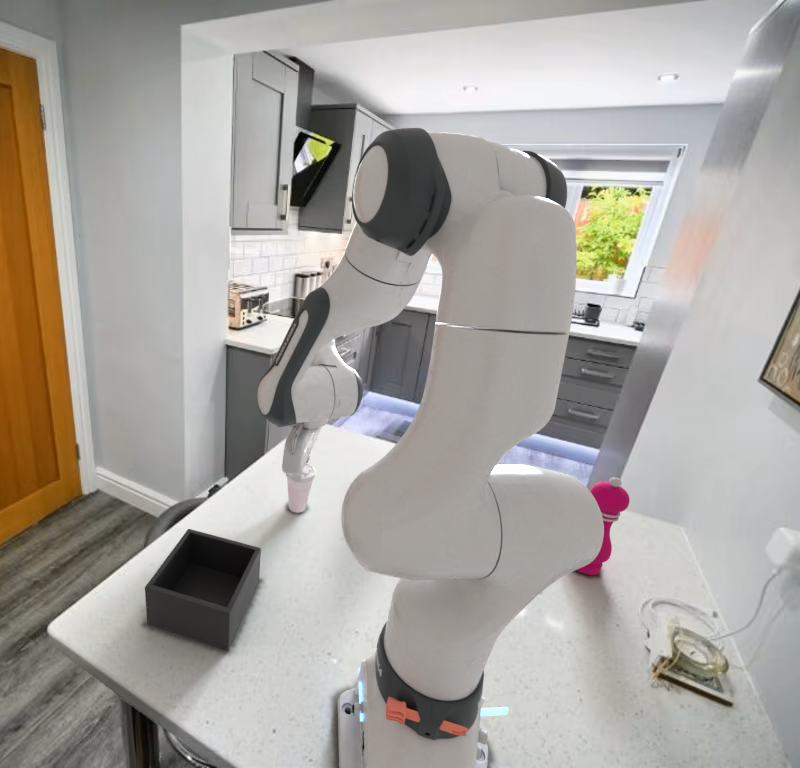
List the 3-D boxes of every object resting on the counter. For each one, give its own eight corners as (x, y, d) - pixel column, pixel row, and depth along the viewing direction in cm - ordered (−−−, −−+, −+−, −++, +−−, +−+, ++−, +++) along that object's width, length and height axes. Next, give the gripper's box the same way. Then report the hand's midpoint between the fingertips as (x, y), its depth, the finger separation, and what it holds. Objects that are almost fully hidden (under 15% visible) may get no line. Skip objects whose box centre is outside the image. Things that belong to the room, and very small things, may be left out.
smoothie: (293, 494, 100) (298, 441, 95) (317, 506, 97) (323, 451, 92) (276, 508, 96) (281, 452, 90) (300, 521, 92) (306, 464, 87)
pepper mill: (605, 564, 87) (643, 479, 79) (598, 583, 82) (638, 495, 74) (565, 544, 91) (597, 462, 83) (556, 562, 86) (590, 477, 78)
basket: (228, 650, 64) (229, 613, 62) (147, 623, 67) (144, 587, 65) (259, 581, 77) (261, 547, 74) (188, 561, 80) (188, 528, 77)
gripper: (310, 438, 77) (303, 501, 83) (331, 395, 96) (324, 449, 101) (276, 431, 79) (271, 494, 84) (303, 390, 97) (298, 444, 102)
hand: (300, 469), depth 93 cm, fingers closed on smoothie, 6 cm apart
